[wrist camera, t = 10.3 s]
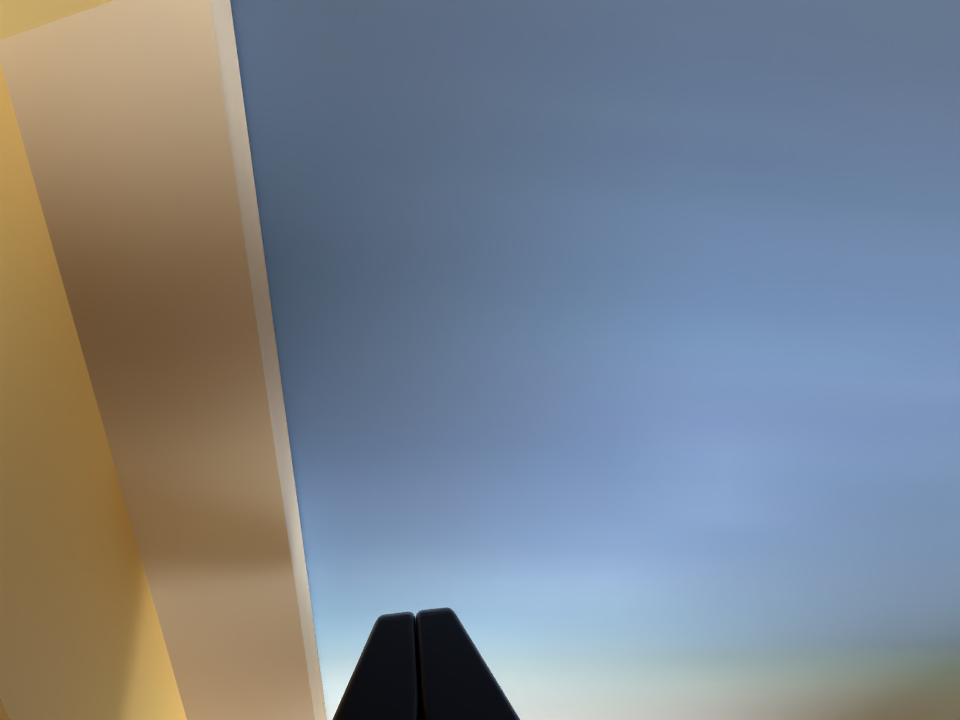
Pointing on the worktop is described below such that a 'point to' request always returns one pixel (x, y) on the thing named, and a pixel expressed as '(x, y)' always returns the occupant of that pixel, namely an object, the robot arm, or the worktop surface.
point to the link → (61, 482)
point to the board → (177, 333)
